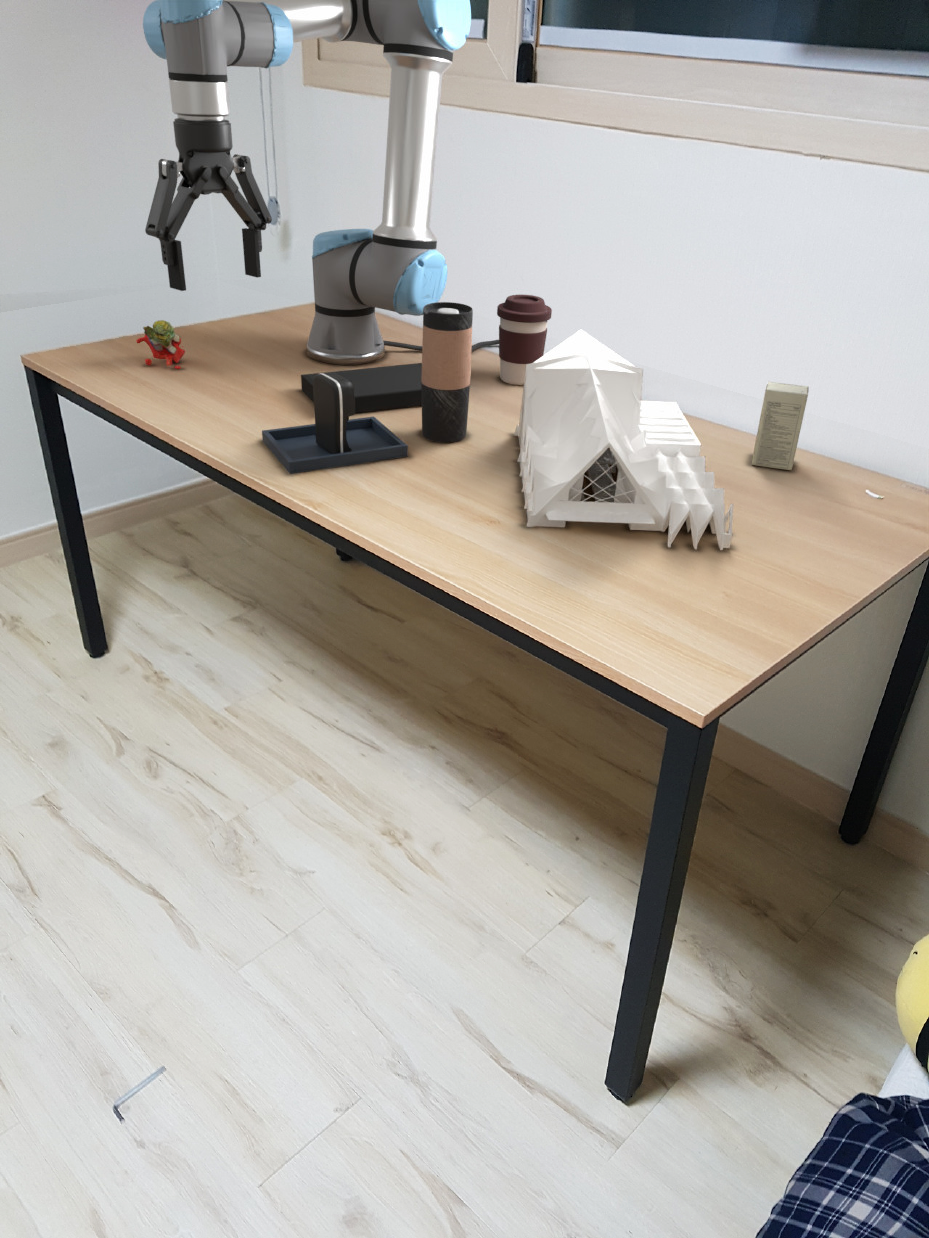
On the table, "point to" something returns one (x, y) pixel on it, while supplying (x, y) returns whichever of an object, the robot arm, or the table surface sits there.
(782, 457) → the cosmetic box
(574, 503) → the white faceted model
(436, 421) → the travel mug
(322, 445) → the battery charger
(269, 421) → the table surface
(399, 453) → the tray
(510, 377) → the coffee cup
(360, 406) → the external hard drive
